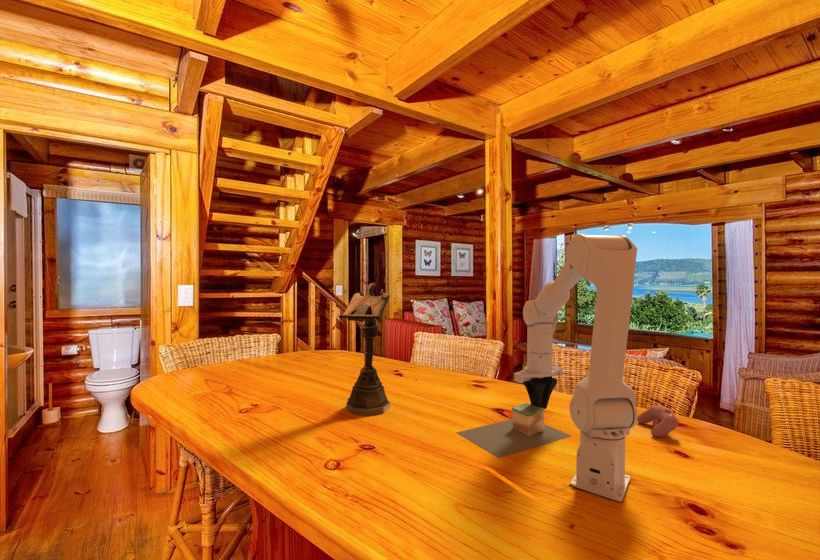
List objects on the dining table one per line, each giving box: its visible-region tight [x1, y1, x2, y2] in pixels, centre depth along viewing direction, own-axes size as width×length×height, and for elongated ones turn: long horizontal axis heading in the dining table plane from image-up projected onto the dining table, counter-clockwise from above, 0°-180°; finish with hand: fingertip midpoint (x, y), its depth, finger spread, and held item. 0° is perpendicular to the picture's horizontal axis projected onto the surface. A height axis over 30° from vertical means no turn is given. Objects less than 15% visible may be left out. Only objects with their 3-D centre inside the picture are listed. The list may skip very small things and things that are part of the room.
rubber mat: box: [455, 418, 572, 459], centre depth 87 cm, size 22×14×1 cm, turn 120°
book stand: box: [336, 282, 391, 417], centre depth 102 cm, size 17×13×35 cm
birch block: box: [511, 402, 545, 436], centre depth 89 cm, size 5×5×5 cm
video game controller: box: [637, 403, 679, 438], centre depth 91 cm, size 10×5×7 cm, turn 169°
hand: (538, 408), depth 91 cm, fingers closed
